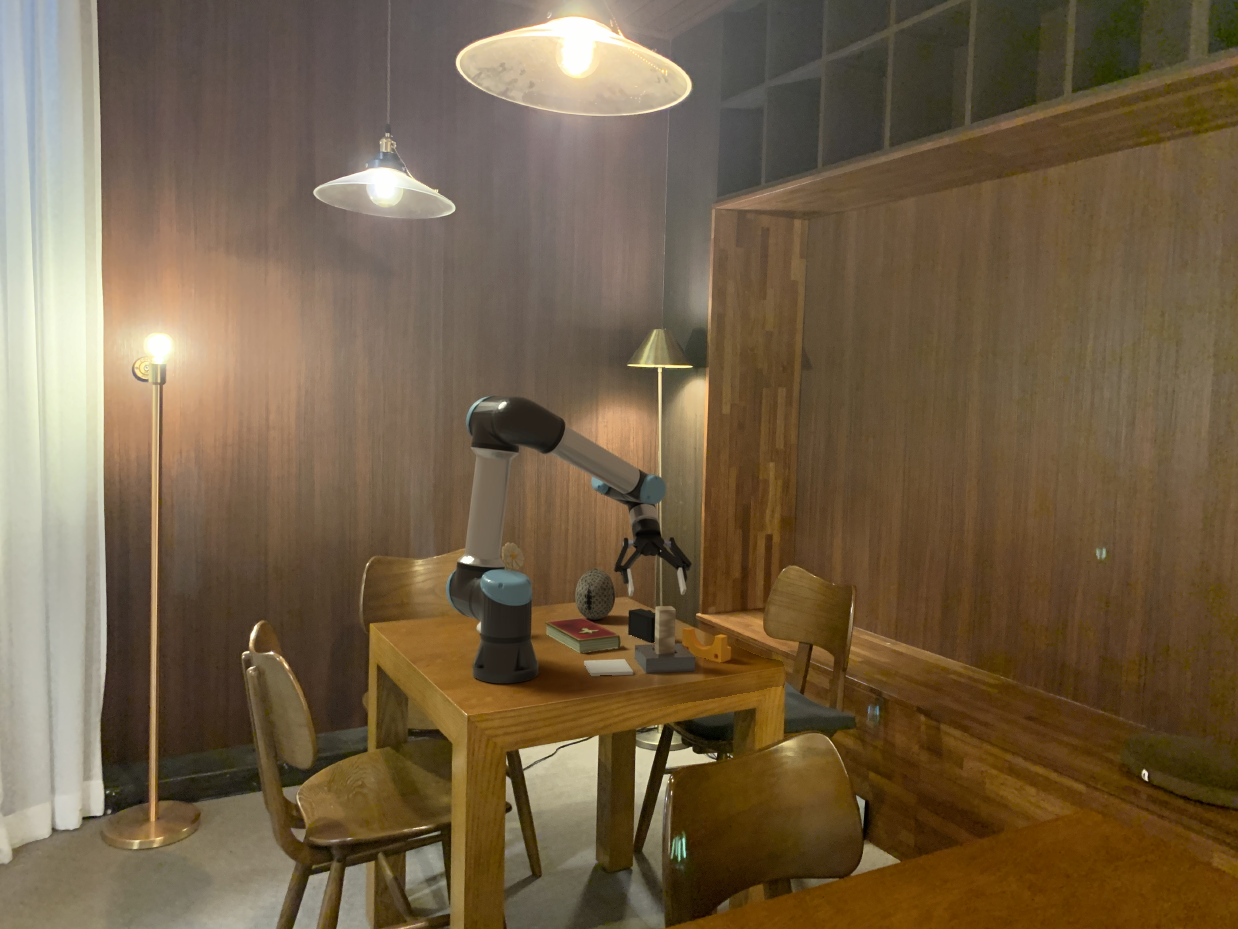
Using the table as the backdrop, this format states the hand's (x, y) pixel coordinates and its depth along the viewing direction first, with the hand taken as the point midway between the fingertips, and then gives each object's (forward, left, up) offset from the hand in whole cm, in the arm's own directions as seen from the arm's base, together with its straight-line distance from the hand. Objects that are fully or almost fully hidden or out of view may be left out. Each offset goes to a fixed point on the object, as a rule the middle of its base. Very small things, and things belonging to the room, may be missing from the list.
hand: (657, 592), depth 226 cm
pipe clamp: (+13, 0, -16) cm, 20 cm away
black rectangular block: (-4, +15, -16) cm, 22 cm away
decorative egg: (-20, +33, -16) cm, 42 cm away
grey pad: (-10, -15, -16) cm, 24 cm away
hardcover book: (-21, +8, -16) cm, 28 cm away
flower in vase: (-43, +12, -16) cm, 48 cm away
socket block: (+3, -9, -16) cm, 18 cm away
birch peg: (+3, -9, -16) cm, 18 cm away
